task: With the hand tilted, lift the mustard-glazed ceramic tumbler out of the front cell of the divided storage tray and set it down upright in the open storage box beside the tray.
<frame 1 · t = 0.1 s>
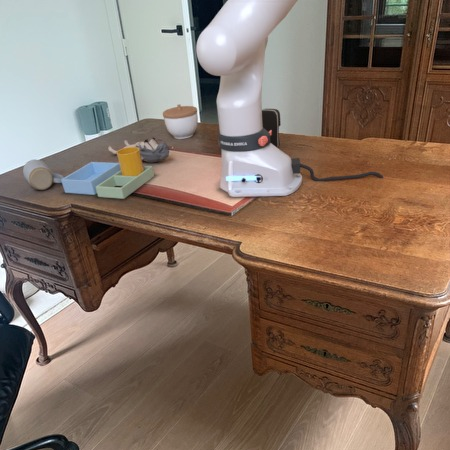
lidded bowl: (183, 136, 165), on the table
anime figure: (142, 159, 148), on the table
ceramic mug: (47, 186, 136), on the table
open storage box: (94, 183, 133), on the table
tumbler: (134, 180, 132), resting in divided storage tray
divided storage tray: (127, 186, 129), on the table
battery charger: (270, 146, 145), on the table
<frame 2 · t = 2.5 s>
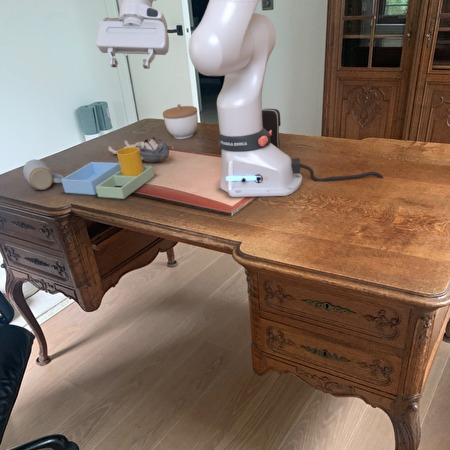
hand: (129, 66, 122), 29 cm above the table, tool tilted 40°, fingers open, 8 cm apart
nothing on the table moved.
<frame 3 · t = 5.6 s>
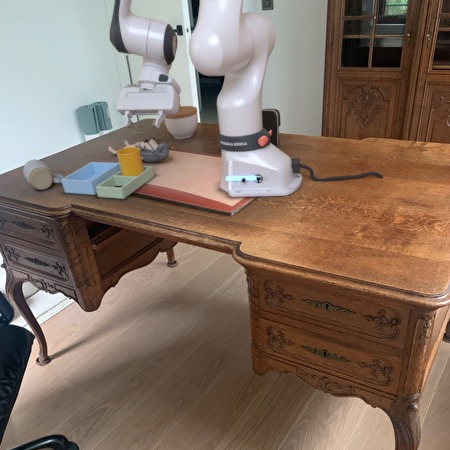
hand: (142, 127, 131), 13 cm above the table, tool tilted 45°, fingers open, 8 cm apart
nothing on the table moved.
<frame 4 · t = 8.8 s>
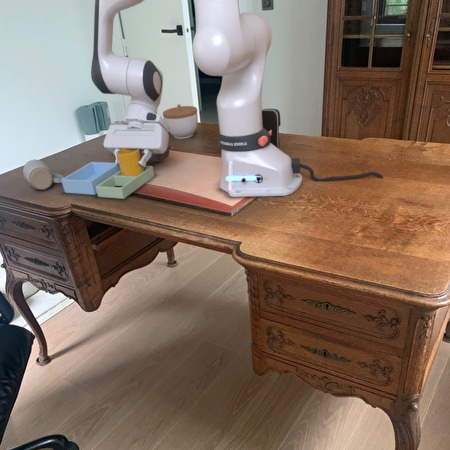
hand: (130, 165, 128), 5 cm above the table, tool tilted 45°, fingers closed on tumbler, 6 cm apart
tumbler: (134, 180, 132), resting in divided storage tray, touching gripper
everything else where it was.
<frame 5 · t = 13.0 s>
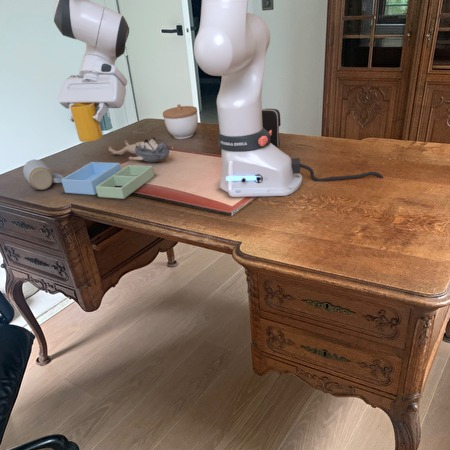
hand: (85, 121, 122), 18 cm above the table, tool tilted 45°, fingers closed on tumbler, 6 cm apart
tumbler: (91, 138, 125), point 13 cm above the table, touching gripper
everything else where it was.
when the fingers open (5 cm above the table, at t = 17.3 s): tumbler stays where it is, resting on open storage box.
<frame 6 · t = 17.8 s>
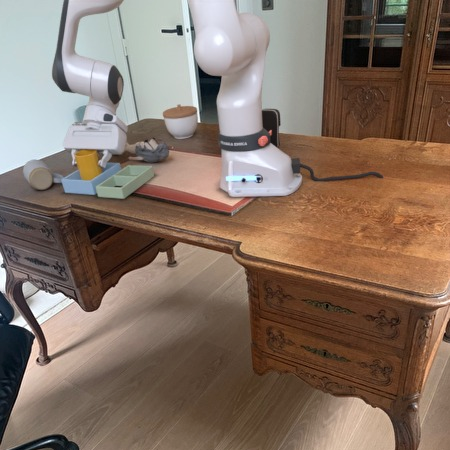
hand: (88, 166, 129), 6 cm above the table, tool tilted 45°, fingers open, 8 cm apart
tumbler: (94, 182, 133), resting on open storage box
everything else where it was.
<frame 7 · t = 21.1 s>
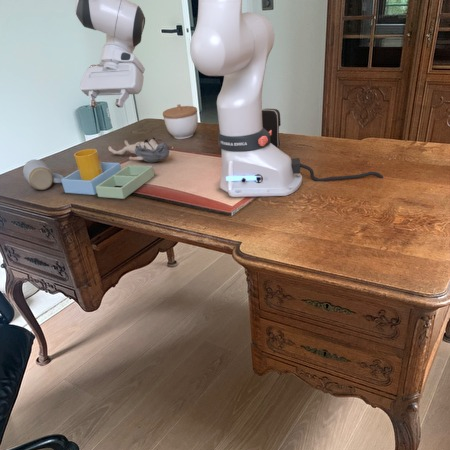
hand: (105, 106, 130), 19 cm above the table, tool tilted 45°, fingers open, 8 cm apart
nothing on the table moved.
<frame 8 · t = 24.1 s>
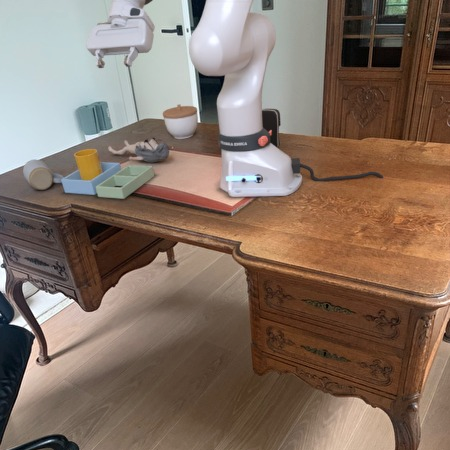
hand: (113, 66, 124), 29 cm above the table, tool tilted 45°, fingers open, 8 cm apart
nothing on the table moved.
at the end: tumbler inside the target area in the open storage box (0.1 cm from its centre), point 0.5 cm above the open storage box's base; tumbler tilted 0°; the gripper is holding nothing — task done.
